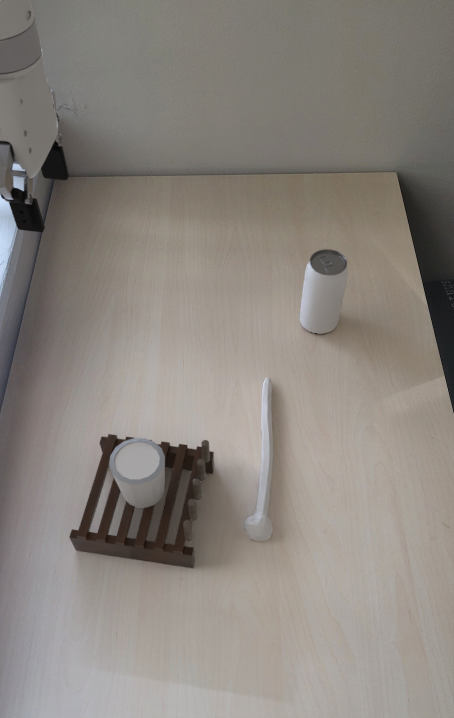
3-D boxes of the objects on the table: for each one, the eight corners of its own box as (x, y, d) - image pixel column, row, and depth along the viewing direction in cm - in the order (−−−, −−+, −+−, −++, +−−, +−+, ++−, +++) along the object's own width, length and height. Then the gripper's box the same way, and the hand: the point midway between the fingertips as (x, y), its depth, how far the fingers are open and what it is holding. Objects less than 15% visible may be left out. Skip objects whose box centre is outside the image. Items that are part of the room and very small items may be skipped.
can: (310, 340, 104) (319, 281, 93) (292, 313, 106) (299, 254, 96) (345, 328, 105) (358, 269, 94) (326, 302, 108) (336, 242, 97)
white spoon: (247, 380, 99) (248, 367, 97) (274, 381, 99) (275, 368, 97) (242, 542, 86) (242, 532, 83) (272, 543, 86) (273, 533, 83)
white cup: (166, 464, 86) (161, 433, 80) (172, 507, 83) (168, 479, 77) (115, 471, 86) (106, 441, 80) (119, 515, 82) (111, 488, 76)
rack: (75, 550, 85) (60, 519, 78) (106, 452, 93) (95, 415, 85) (193, 568, 84) (189, 539, 76) (214, 467, 92) (213, 431, 84)
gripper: (-7, -3, 66) (36, 156, 81) (-72, 88, 58) (-11, 247, 73) (63, 3, 65) (94, 162, 80) (7, 96, 57) (53, 255, 72)
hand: (44, 202), depth 77 cm, fingers open, 9 cm apart
